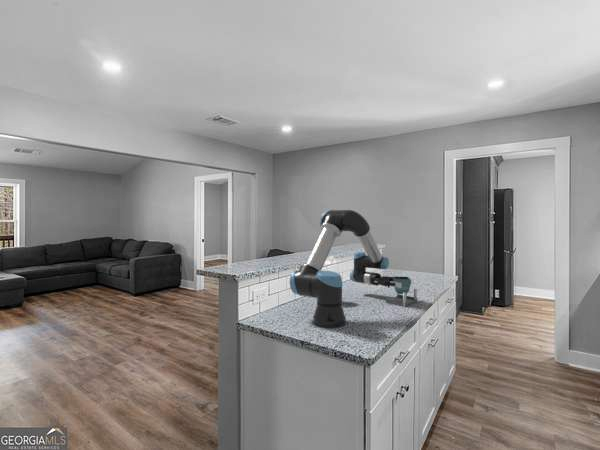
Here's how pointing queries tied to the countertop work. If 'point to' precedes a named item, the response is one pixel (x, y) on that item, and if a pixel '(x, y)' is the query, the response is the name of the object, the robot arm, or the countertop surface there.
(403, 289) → the flower pot
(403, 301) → the tray
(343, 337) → the countertop surface
